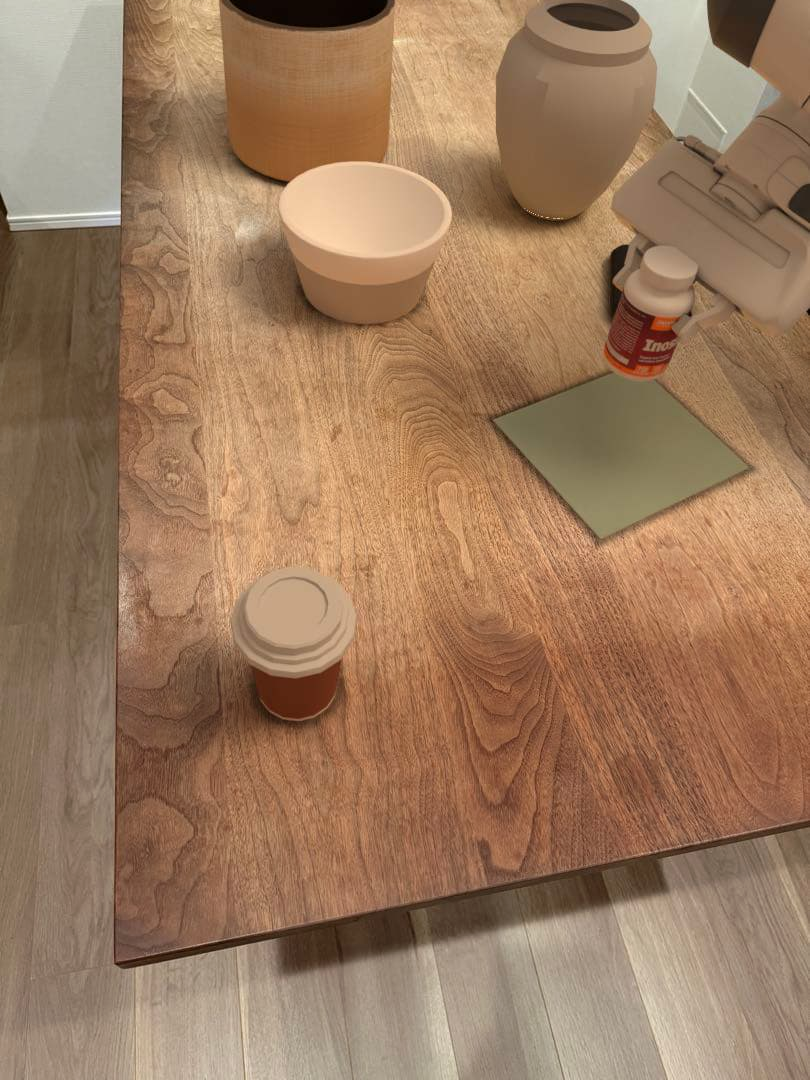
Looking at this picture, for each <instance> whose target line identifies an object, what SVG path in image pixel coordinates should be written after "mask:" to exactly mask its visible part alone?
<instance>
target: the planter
mask: <svg viewBox="0 0 810 1080" xmlns="http://www.w3.org/2000/svg"><path fill="white" fill-rule="evenodd" d="M218 7H219V18H220V19H219V20H220V31H221V45H222V56H223V57H222V61H223V74H224V85H225V86H224V87H225V100H226V101H225V102H226V116H227V128H228V137H229V143H230V146H231V149H232V151H233V153H234V155H235V156H236V157H237V158H238V159H239V160H240V161H241V162H242V163H243V164H244V165H246V166H247V167H249V168H250V169H252V170H253V171H255V172H257V173H259V174H260V175H263V176H265V177H267V178H269V179H272V180H276V181H280V182H282V183H287V184H288V183H290V182H291V181H292V180H293V179H294V178H296V177H297V176H299V175H301V174H302V173H304V172H306V171H308V170H311V169H314V168H317V167H320V166H323V165H328V164H333V163H339V162H350V161H359V162H375V163H382V160H383V159H384V158H385V156H386V154H387V152H388V151H387V150H388V146H389V140H390V125H391V123H390V122H391V121H390V120H391V101H392V99H391V97H392V75H393V74H392V73H393V54H394V52H393V51H394V36H395V35H394V31H395V15H396V0H218Z"/></svg>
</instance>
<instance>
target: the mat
mask: <svg viewBox="0 0 810 1080" xmlns="http://www.w3.org/2000/svg"><path fill="white" fill-rule="evenodd" d="M492 421H493V423H494V424H495V425H496V426H497V427H498V428H499V430H500V431H501V432H502V433H503V434H504V435H505V436H506V437H507V438H508V440H509V441H510V442H511V443H512V444H513V445H514V446H515V447H516V449H518V451H520V453H521V454H522V455H523V456H524V457H525V458H526V459H527V460H528V462H529V463H530V464H531V465H532V466H533V467H534V468H535V469H536V470H537V472H538V473H539V474H540V475H541V477H543V478H544V480H545V481H547V483H548V484H549V485H550V486H551V487H552V488H553V489H554V490H555V492H556V493H557V494H558V495H559V496H560V497H561V498H562V499H563V500H564V502H565V503H566V504H567V505H568V506H569V507H570V508H571V509H572V511H574V513H575V514H576V515H577V516H578V517H579V518H580V519H581V520H582V522H583V523H584V524H585V525H586V526H587V527H588V528H589V529H590V530H591V531H592V533H593V534H594V535H595V536H596V537H597V538H598V539H599V540H603V539H605V538H607V537H609V536H611V535H613V534H616V533H617V532H620V531H621V530H623V529H625V528H628V527H630V526H632V525H634V524H636V523H638V522H641V521H642V520H644V519H647V518H649V517H651V516H653V515H655V514H658V513H659V512H662V511H663V510H665V509H667V508H669V507H672V506H673V505H676V504H677V503H680V502H681V501H684V500H687V499H689V498H690V497H692V496H694V495H697V494H699V493H701V492H703V491H705V490H707V489H709V488H711V487H714V486H715V485H717V484H719V483H722V482H725V481H726V480H727V479H730V478H732V477H734V476H736V475H737V474H738V475H739V474H740V473H742V472H745V471H747V470H749V469H750V466H749V465H748V464H747V463H746V462H744V461H743V460H742V459H741V458H740V457H739V456H738V455H737V454H736V453H734V451H733V450H732V449H730V448H729V447H728V446H727V445H726V444H725V443H724V442H723V441H722V440H720V439H719V438H718V437H717V436H716V435H715V434H714V433H713V432H712V431H711V430H710V429H709V428H707V426H705V425H704V424H703V423H702V422H701V421H700V420H699V419H698V418H697V417H695V415H693V414H692V413H691V412H690V411H689V410H688V409H687V408H685V406H683V404H681V403H680V402H679V401H678V400H677V399H676V398H675V397H674V396H673V395H671V394H670V393H669V392H668V390H666V389H665V388H664V387H663V386H662V385H661V384H660V383H659V382H657V380H656V379H654V380H650V381H633V380H629V379H626V378H624V377H621V376H619V375H618V374H616V373H614V372H611V373H609V374H605V375H603V376H601V377H599V378H596V379H593V380H591V381H588V382H585V383H582V384H580V385H578V386H575V387H572V388H571V389H568V390H565V391H563V392H560V393H558V394H557V393H556V394H555V395H552V396H550V397H548V398H545V399H542V400H539V401H537V402H534V403H531V404H529V405H527V406H524V407H521V408H519V409H516V410H513V411H512V412H509V413H506V414H503V415H500V416H499V417H497V418H493V419H492Z"/></svg>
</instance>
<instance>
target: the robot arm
mask: <svg viewBox="0 0 810 1080" xmlns="http://www.w3.org/2000/svg"><path fill="white" fill-rule="evenodd" d="M706 11H707V22H708V23H707V24H708V29H709V33H710V38H711V42H712V45H713V46H714V47H716V48H718V49H719V50H720V51H722V52H723V53H725V54H726V55H728V56H729V57H731V58H732V59H734V60H735V61H737V62H738V63H740V64H741V65H743V66H744V67H746V68H747V69H749V68H751V69H752V70H753V71H754V72H755V73H756V74H758V75H759V76H761V78H762V79H764V80H765V81H766V82H767V83H768V84H769V85H771V86H772V87H773V88H774V89H775V90H776V91H778V92H779V93H780V95H779V97H777V99H775V100H774V102H772V103H771V104H770V105H768V106H767V107H765V108H763V110H761V111H760V112H758V114H756V116H754V118H753V119H752V120H751V121H750V122H749V123H748V124H747V125H746V127H745V128H744V129H743V130H741V132H740V133H739V134H738V135H737V137H736V138H735V139H734V140H733V141H732V142H731V143H730V145H729V146H728V147H727V148H726V149H725V150H724V151H723V152H722V153H721V152H720V151H718V150H717V149H716V148H713V147H712V146H710V145H707V144H705V143H703V140H701V139H700V138H698V137H697V136H695V135H693V134H688V135H687V136H683V135H680V136H675V137H671V138H669V139H667V140H666V141H665V142H663V144H662V145H661V146H660V147H659V148H658V150H656V152H655V153H654V154H653V156H651V157H650V158H649V159H648V160H647V161H646V162H645V163H643V164H642V165H641V166H640V167H639V168H638V169H637V170H636V171H635V172H634V173H633V174H631V176H629V178H628V179H626V180H625V182H624V183H623V184H622V185H620V187H619V188H618V189H617V190H616V192H614V194H613V196H612V198H611V199H612V200H611V205H610V210H611V212H612V214H614V216H615V217H616V219H617V220H618V221H619V223H620V224H621V225H622V226H624V227H625V228H626V229H628V230H629V231H630V232H631V233H632V234H634V235H635V236H634V237H633V238H632V239H631V241H630V242H629V244H628V245H629V248H628V252H627V256H626V259H625V263H624V264H625V266H624V267H623V268H622V269H621V270H620V271H619V273H618V274H617V275H616V276H615V277H614V279H613V284H614V285H615V286H616V287H617V288H618V289H620V290H621V291H622V292H623V288H624V286H625V283H626V281H627V279H628V277H629V276H630V275H631V274H632V273H633V272H635V271H636V270H638V269H639V267H640V264H641V261H642V258H643V256H644V254H645V252H646V251H647V250H648V249H650V248H652V247H655V246H672V247H675V248H677V249H678V250H679V251H681V252H682V253H683V254H685V255H686V256H687V257H689V258H690V259H691V260H693V261H694V262H695V263H697V264H698V270H697V273H696V276H695V279H694V280H696V282H697V283H698V284H700V285H701V286H702V287H704V289H706V290H708V291H709V292H710V293H712V294H713V295H714V296H713V297H712V298H711V299H710V300H709V301H708V304H709V306H710V308H707V309H705V310H703V311H701V312H699V313H696V314H694V315H692V317H690V316H688V315H687V314H686V313H683V314H682V315H681V316H680V317H679V318H678V321H677V322H674V323H673V324H672V326H671V328H670V330H671V331H672V332H673V334H675V335H676V336H677V337H678V338H679V341H681V342H682V343H684V344H687V343H689V342H690V341H692V339H693V338H694V337H695V336H696V335H697V334H698V333H699V332H700V331H701V330H705V329H707V328H710V327H713V326H716V325H719V324H721V323H724V322H726V321H727V320H728V319H729V318H730V317H731V316H732V315H733V314H734V313H735V312H736V313H737V314H738V315H740V316H742V317H743V318H744V319H745V320H746V321H748V322H749V323H751V324H752V325H753V326H754V327H756V328H757V329H758V330H759V331H761V332H762V333H764V334H765V335H766V336H768V337H776V336H779V335H783V334H786V333H787V332H788V331H790V330H791V329H792V328H793V327H794V326H795V325H796V324H797V323H798V321H800V319H801V318H802V317H803V316H804V315H805V314H806V312H807V311H809V309H810V0H706ZM682 142H683V143H682Z"/></svg>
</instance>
